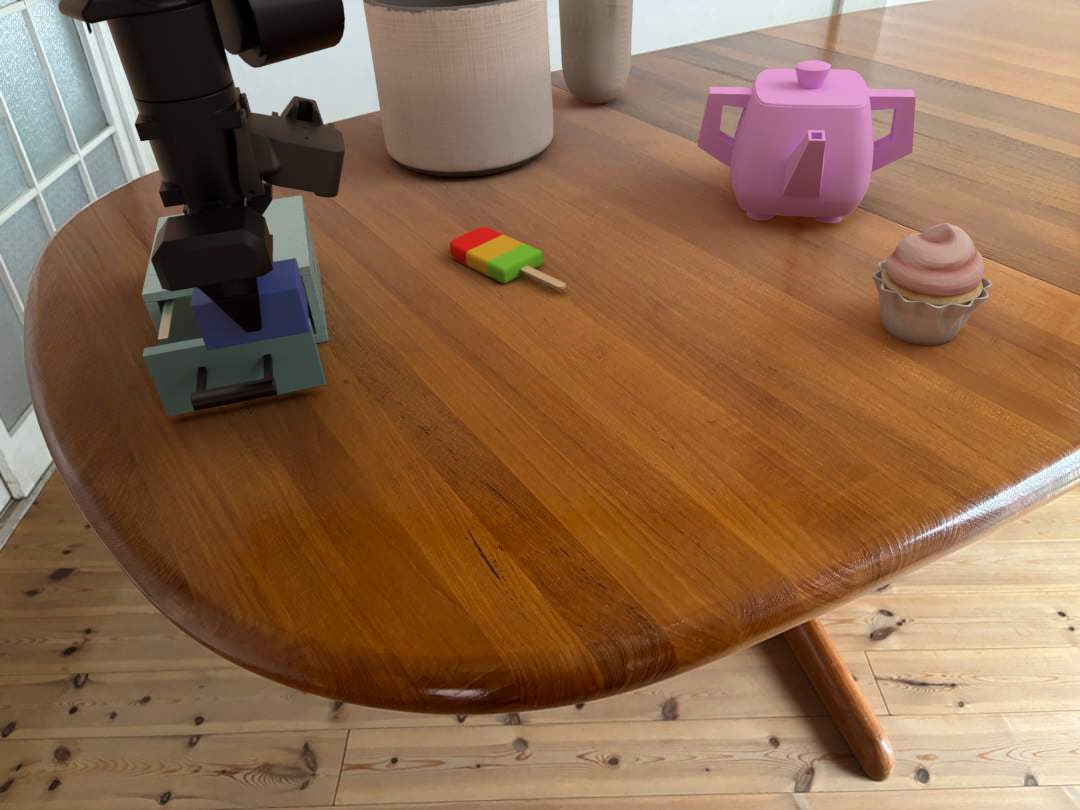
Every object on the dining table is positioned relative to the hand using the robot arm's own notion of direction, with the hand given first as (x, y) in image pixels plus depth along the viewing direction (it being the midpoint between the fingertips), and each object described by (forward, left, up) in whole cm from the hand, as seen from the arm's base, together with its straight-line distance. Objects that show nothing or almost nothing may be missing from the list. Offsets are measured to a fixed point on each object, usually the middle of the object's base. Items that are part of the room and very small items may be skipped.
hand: (254, 312), depth 58 cm
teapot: (+57, +23, -11) cm, 63 cm away
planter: (+26, +54, -11) cm, 61 cm away
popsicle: (+23, +19, -11) cm, 32 cm away
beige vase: (+48, +66, -11) cm, 83 cm away
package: (0, 0, -1) cm, 1 cm away
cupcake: (+54, -4, -11) cm, 55 cm away
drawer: (-3, +9, -10) cm, 14 cm away
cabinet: (-3, +20, -11) cm, 23 cm away
